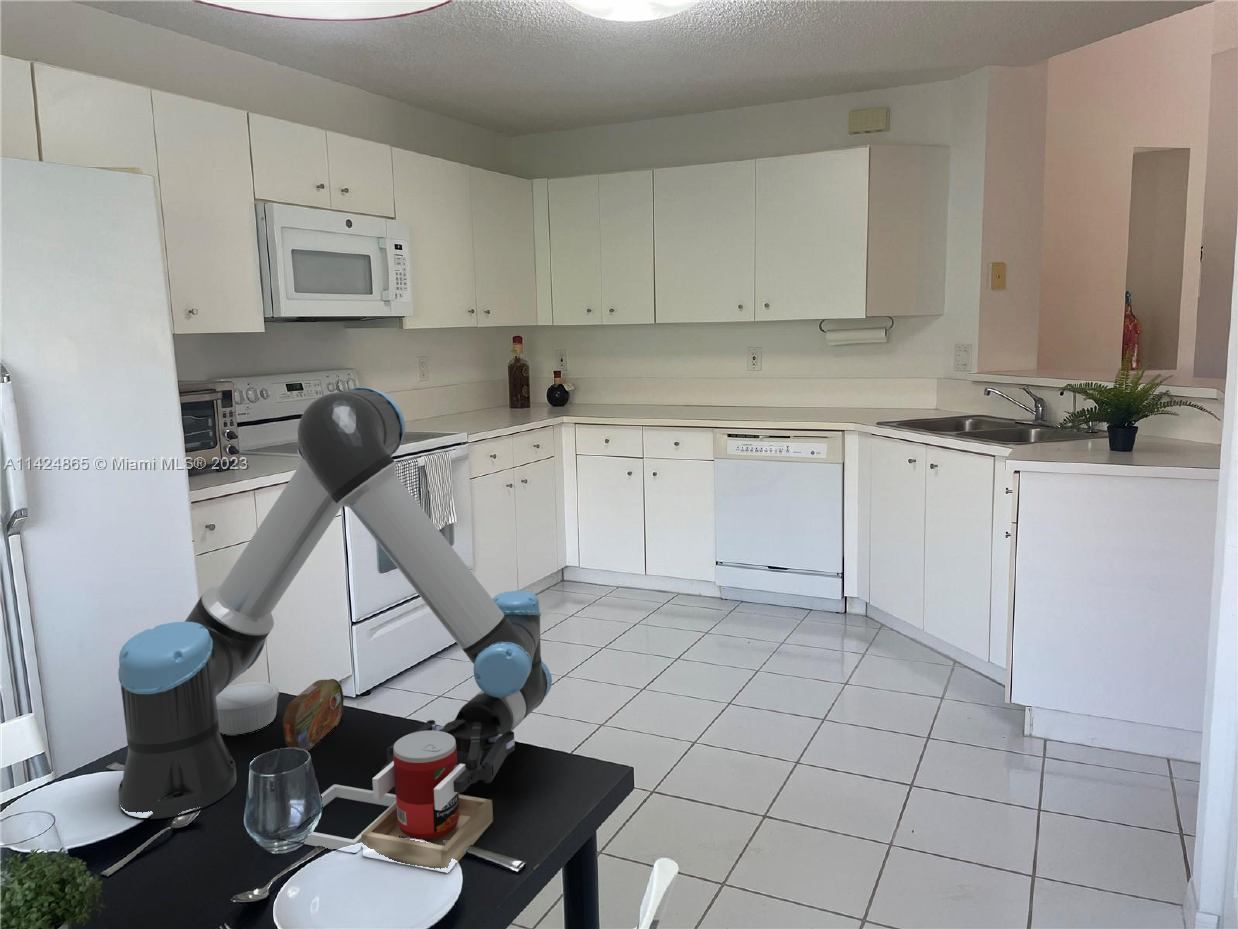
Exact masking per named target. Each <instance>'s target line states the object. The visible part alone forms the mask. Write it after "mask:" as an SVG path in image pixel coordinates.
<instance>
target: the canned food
mask: <svg viewBox="0 0 1238 929" xmlns="http://www.w3.org/2000/svg"><path fill="white" fill-rule="evenodd" d="M414 732H415V731H414ZM393 744H394V750H393V756H394V774H395V786H394V787H395V795H396V803H397V818H398V824H399V827H400V829H401V831H402V832H403V833H404V834H405V835H407V836H409V837H412V838H416V839H431V838H436V837H440V836H442V835H445V834H447V833H449V832H450V831H451V830H453V829H454V828H455V827H456V825H457V823H458V820H459V816H460V810H459V795H460V793H457V794H456V795H455V796H454V797H453V798H452V799H451V800H450V801H449V802H448V803H447V804H446V805H445V806H444V807H443V808H442V809H441V810H435V801H434V788H435V787H436V786H437V785H438V784H439V783H440V782H441V781H442V780H444V779H445V778H446V777H447V776H448V775H449V774H450V773H451V772H452V771H453V770H454V769H455V768H456V767H457V766H458V751H457V750H456V741H455V738H454V737H453V736H452V735H450V734H448V733H446V732H442V731H420V732H415V733H413V732H411V733H409V734H406V735H404V736H402V737H400V738H399V739H398V740H396V741H395V742H394V743H393Z"/></svg>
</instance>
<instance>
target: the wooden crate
mask: <svg viewBox="0 0 1238 929" xmlns="http://www.w3.org/2000/svg"><path fill="white" fill-rule="evenodd" d="M386 810H387V809H386ZM386 810H385V811H386ZM459 810H460V816H459V820H458V823H457V825H456V827H455V828H454V829H453V830H451V831H450V832H449V833H447V834H445V835H442V836H440V837H436V838H431V839H423V840H425V841H427V842H431V843H433V844H431V843H426V842H420V841H415V840H410V839H405V838H399V836H400V837H401V836H403V837H409V836H407V835H405V834H404V833H403V832H402V831H401V829H400V827H399V824H398V818H397V803H395V804H394V805H393V806H392V807H391V808H390V809H389V810H387V811H386V812H385V813H384V814H383V815H382V816H381V817H380V818H379V819H378V820H377V821H375V820H374V821H375V822H374V821H373V822H374V823H373V824H372V825H371V826H370V827H369V828H368V829H367V830H366V831H365V832H364V833H362V832H361V833H362V834H361V837H362V843H363V844H364V845H366V846H367V847H368V848H370V849H374V850H375V851H376V852H377V853H379V855H380V854H381V855H384V856H385V857H388V858H389V859H392V860H394V861H397V862H401V863H405V864H410V865H414V866H415V865H417V866H423V867H429V868H434V869H435V868H440V869H441V868H445V867H446V868H448V866H449V863H450V862H451V859H452V858H453V859H455V860H458V862H460V860H461V859H462V858H463V857H464V856H465V855H466V853H467V852H466V851H465V849H466V848H467V846H470V845H472V846H474V844H475V843H476V842H477V840H479V838H480V837H481V836H482V835H483V833H484V832H485V831H486V830H487V829H488V827H490V825H491V824H492V823H493V822H494V814H493V812H494V811H493V800H492V799H489V798H488V799H487V798H484V797H483V798H482V797H476V796H471V795H464V794H459ZM410 838H412V837H410ZM443 840H449V841H448V842H447V843H446V844H445V843H443Z"/></svg>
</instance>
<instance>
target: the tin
mask: <svg viewBox="0 0 1238 929" xmlns="http://www.w3.org/2000/svg"><path fill="white" fill-rule="evenodd" d="M343 710H344V692H343V688H342V685H341V684H340V682H339V681H338V680H337V679H335V678H328V679H319V680H316V681H314V682H313V683H312V684H310V686H308V687H307V688H305V689H304V690H303V691H301V693H300V694H298V695H297V696H295V697H294V698H293V699H292V700H290V702H289V703H288V704H287V706H286V708H285V711H284V713H283V718H282V727H283V737H284V741H285V742H284V743H285V745H286V746H287V747H288V748H289V747H299V748H304V749H308V750H309V751H311V750H310V749H312V747H313V746H315V743H318V742H319V740H320V739H322V738H323V736H325V735H326V734H327V732H330V730H331V729H333V728H334V727H335V726H336V727H337V726H338V725H339V723H340V720H341V718H342V715H343ZM333 730H334V729H333ZM330 733H331V732H330ZM319 743H320V742H319ZM319 743H318V744H319ZM315 747H316V746H315ZM312 750H313V749H312Z"/></svg>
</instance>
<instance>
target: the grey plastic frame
mask: <svg viewBox="0 0 1238 929" xmlns="http://www.w3.org/2000/svg"><path fill="white" fill-rule="evenodd" d="M320 795H321V796H322V804H323V808H324V807H325V806H326V805H328V804H329V803H331V801H333V800H334V799H336V798H340V799H347V800H352V801H357V802H361V803H362V802H363V803H368V804H374V805H380V806H385V807H388V808H387V809H386V810H384V811H383V812H382V813H381V814H379V816H378V817H377V818H376V819H375V820H374V821H372V822H371V823H370V824H369V825H367V827H366V828H365V829H363V830H362V831H361V833H359V834H358V835H357V836H356V837H355V838H354V839H351V838H345V837H341V836H337V835H332V834H326V833H320V832H315V831H311V832H312V833H311V834H310V835H309V836H308V838H306V839H305V842H304V844H303V845H308V846H313V847H317V846H319V845H320V846H323V847H325V848H324V849H327V848H328V849H329V850H333V849H339V848H342V847H346V846H348V845H355V844H356V843H360V842H362V837H361V834H362V833H364V832H365V831H366V830H367V829H368V828H369V827H370V826H371V825H372V824H373V823H374V822H375V821H377V820H378V819H379V818H380V817H381V816H382V815H383V814H384V813H385V812H386V811H387V810H389V809H390V808H391V807H392V806H393V805H394V804H395V803H396V794H393V793H388V792H387V793H386V794H385V795H384V796H383V797H381V798H380V799H379V800H378V799H374V796H373V790H369V789H364V788H358V787H354V786H353V787H352V786H348V785H347V786H346V785H340V784H333V785H331V786H330V787H329V788H328V789H326V790H325V791H324V792H322V794H320ZM333 851H334V850H333Z"/></svg>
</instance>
